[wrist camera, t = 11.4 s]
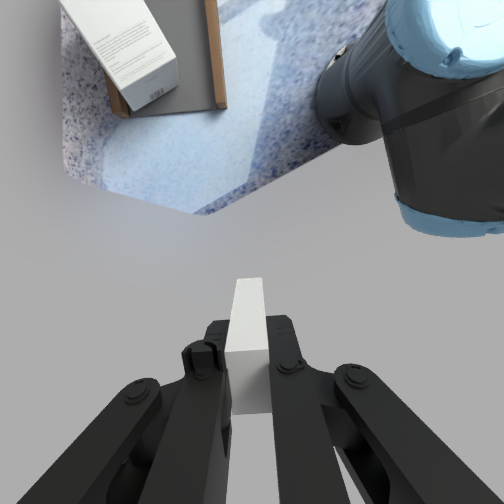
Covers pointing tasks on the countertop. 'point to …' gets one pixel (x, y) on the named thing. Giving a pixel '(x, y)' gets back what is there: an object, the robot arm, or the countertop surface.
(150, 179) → the countertop surface
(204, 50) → the mat
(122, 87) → the supplement box
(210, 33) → the rails
